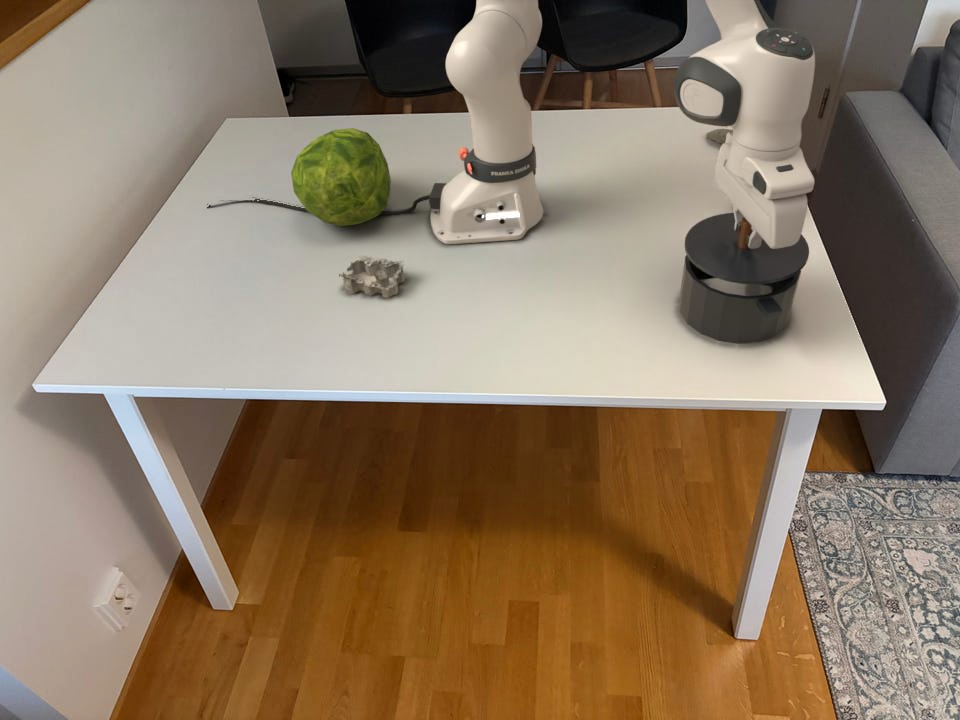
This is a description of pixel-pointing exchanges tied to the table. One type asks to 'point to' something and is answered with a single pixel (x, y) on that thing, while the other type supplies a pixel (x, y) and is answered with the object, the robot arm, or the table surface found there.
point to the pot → (734, 308)
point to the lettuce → (342, 177)
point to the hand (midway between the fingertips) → (746, 239)
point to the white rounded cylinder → (738, 287)
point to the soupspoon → (718, 135)
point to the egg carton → (373, 276)
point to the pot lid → (741, 253)
